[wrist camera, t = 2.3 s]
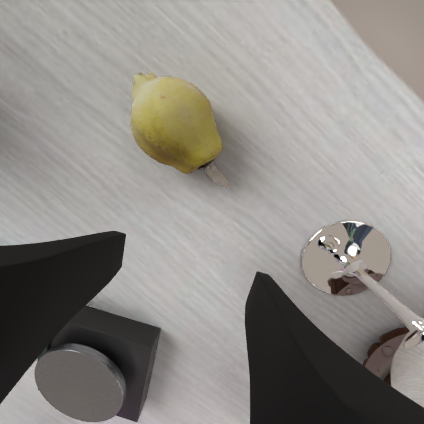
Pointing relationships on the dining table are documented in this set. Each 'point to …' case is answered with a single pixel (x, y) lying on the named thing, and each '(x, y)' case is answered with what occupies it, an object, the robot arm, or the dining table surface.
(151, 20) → the dining table surface
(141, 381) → the scale
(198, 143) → the fruit
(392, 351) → the flowerpot
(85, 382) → the scale pan
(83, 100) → the dining table surface
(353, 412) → the robot arm
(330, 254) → the wineglass
